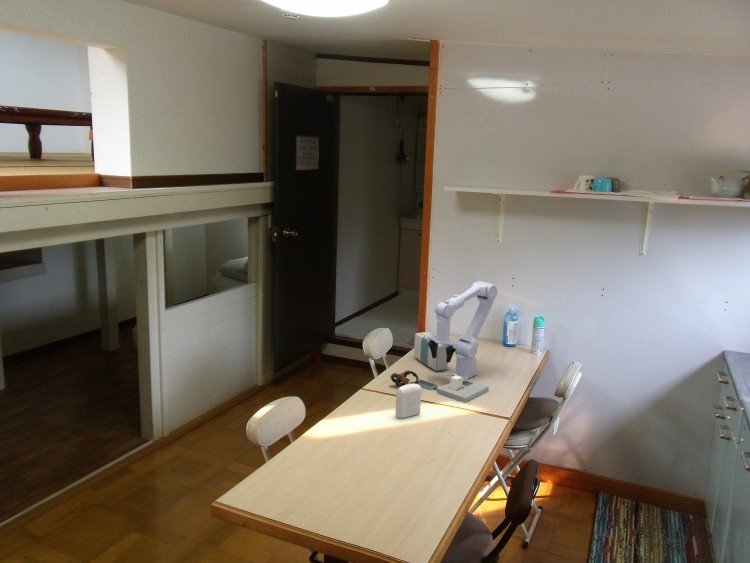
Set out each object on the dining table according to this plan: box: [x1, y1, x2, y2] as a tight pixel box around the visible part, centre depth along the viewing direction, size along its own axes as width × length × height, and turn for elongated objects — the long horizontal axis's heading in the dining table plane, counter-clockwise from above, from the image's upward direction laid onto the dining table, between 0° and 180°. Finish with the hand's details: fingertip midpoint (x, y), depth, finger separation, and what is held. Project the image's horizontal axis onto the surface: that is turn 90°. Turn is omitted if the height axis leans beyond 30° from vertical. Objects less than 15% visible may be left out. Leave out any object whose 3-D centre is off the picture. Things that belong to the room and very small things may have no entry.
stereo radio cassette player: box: [413, 331, 449, 372], centre depth 291 cm, size 21×8×20 cm, turn 25°
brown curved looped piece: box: [390, 370, 420, 386], centre depth 263 cm, size 12×10×8 cm
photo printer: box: [395, 383, 422, 419], centre depth 235 cm, size 10×4×12 cm, turn 123°
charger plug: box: [449, 375, 462, 391], centre depth 259 cm, size 4×3×6 cm
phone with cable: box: [418, 378, 439, 391], centre depth 265 cm, size 12×4×1 cm, turn 49°
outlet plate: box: [436, 378, 490, 404], centre depth 260 cm, size 18×14×2 cm
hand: (441, 360), depth 270 cm, fingers open, 7 cm apart
